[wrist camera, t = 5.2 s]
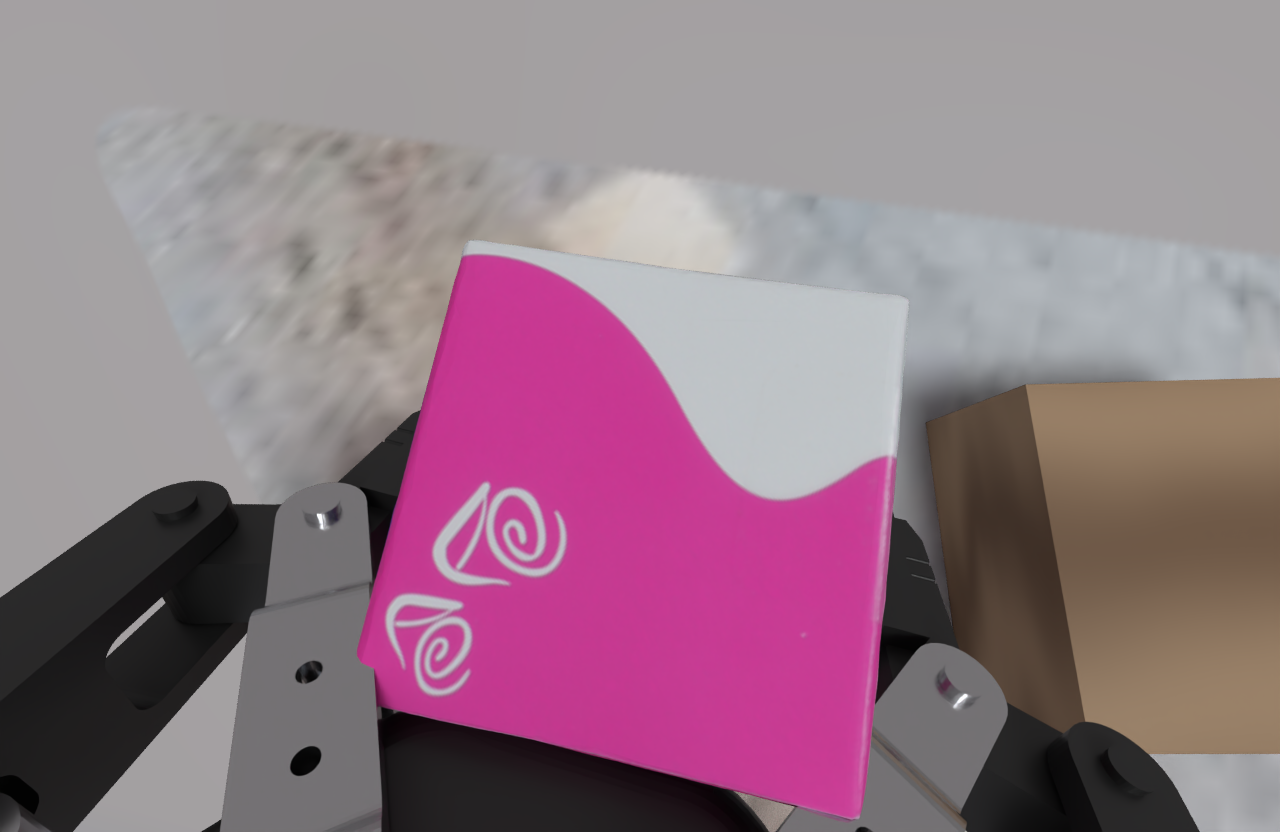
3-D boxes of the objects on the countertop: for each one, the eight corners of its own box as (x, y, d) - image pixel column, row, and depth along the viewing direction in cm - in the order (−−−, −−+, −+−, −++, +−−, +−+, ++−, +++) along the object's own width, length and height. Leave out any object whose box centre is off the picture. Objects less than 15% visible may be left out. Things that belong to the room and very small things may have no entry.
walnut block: (1230, 680, 15) (1495, 753, 10) (956, 682, 16) (1091, 754, 11) (1168, 418, 17) (1373, 375, 12) (922, 424, 17) (1025, 384, 12)
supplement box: (588, 410, 18) (460, 213, 6) (761, 441, 17) (949, 285, 6) (551, 584, 16) (318, 714, 5) (735, 622, 16) (908, 849, 5)
